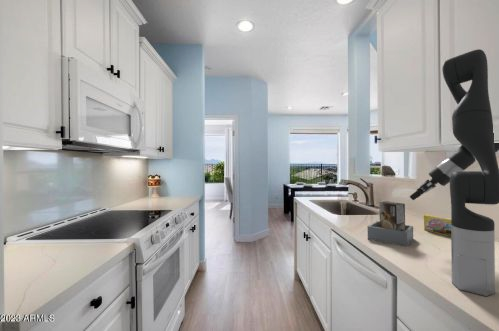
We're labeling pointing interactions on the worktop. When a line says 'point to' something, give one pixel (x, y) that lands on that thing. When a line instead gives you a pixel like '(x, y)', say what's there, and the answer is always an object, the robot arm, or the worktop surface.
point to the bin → (390, 234)
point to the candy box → (437, 225)
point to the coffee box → (392, 215)
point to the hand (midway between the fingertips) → (413, 197)
